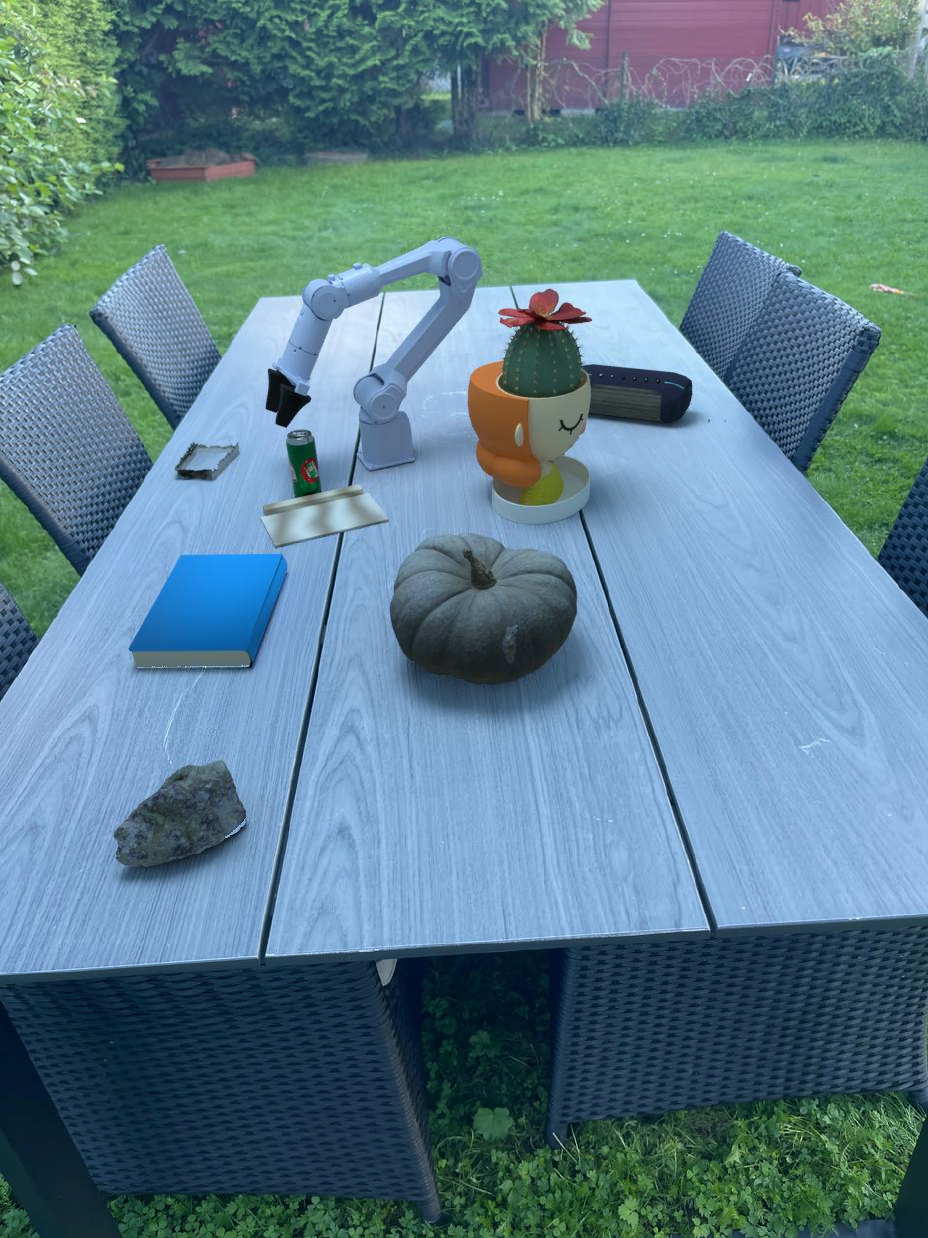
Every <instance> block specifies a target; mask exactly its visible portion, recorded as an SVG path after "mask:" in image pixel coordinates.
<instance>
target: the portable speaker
mask: <svg viewBox="0 0 928 1238" xmlns="http://www.w3.org/2000/svg"><path fill="white" fill-rule="evenodd" d="M583 367H584V369H583ZM582 369H583V370H585V371H586V372H587V373H588V375H589V379H590V385H591V400H590V405H591V407H590V412H589V414H593V415H594V414H595V415H602V416H611V417H619V418H626V417H629V418H628V419H634V418H638V419H637V420H643V419H647V420H646V421H651V420H655V421H654V422H660V421H662V423H673V422H677V421H680V420H682V418H683V417H684V415H685V414H686V412H687V410H688V409H689V408H690V405H691V402H692V399H693V380H692V379H690V377H687V376H686V375H683V374H680V373H677V372H675V371H674V372H673V371H665V370H656V369H644V368H634V367H625V366H617V365H616V366H615V365H608V364H607V365H605V364H595V363H592V364H586V365H584V364H582Z"/></svg>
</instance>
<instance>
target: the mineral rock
mask: <svg viewBox="0 0 928 1238" xmlns="http://www.w3.org/2000/svg"><path fill="white" fill-rule="evenodd" d="M244 807H245V806H244V804H243V802H242V800H241V799H240V797H239V795H238V792H237V787H236V785H235V782H234V779H233V776H232V773H231V772H230V770H229V768H228V766H227V763H225V762H224V760H222V759H221V760H215V761H212V762H210V763H207V764H204V765H194V764H187V765H185V766H182V767H180V768H178V769H176V770H175V771H174V772H173V773H172V774H171V775H170V776H168V777H166V778H165V780H164V781H163V783H162V785H161V786H160V787H159V788H158V790H157V791H155V792H154V793H153V794H151V795H150V796H148V797H147V798H146V799H144V800H143V801H141V802H140V803H139V804H138V806H137V807H136V808H135V809H133V810H132V812H130V814H129V816H128V817H127V818H126V819H124V820H123V822H122V823H120V824H119V826H117V828H116V829H114V831H113V835H112V837H113V838H114V840H116V841H117V847H116V848H117V850H116V851H115V859H116V861H118V863H120V864H121V865H123V866H125V867H126V866H127V867H133V868H137V867H140V866H142V867H144V868H149V867H152V866H157V865H162V864H164V862H165V863H171V862H173V861H176V860H180V859H183V858H185V857H187V856H192V855H199V854H201V853H202V852H203V851H204V850H206V849H208V848H211V847H212V848H213V847H214V846H215V847H216V846H218V845H219V844H221V843H222V842H223V841H225V840H224V838H225V836H227V835H229V834H230V833H231V832H233V830H235V829H236V828H237V827H238V826H239V825H241V823H242V822H243V821H244V819H245V818H246V819H247V811H246V809H245V808H244ZM172 860H173V861H172ZM170 861H171V862H170ZM161 863H162V864H161Z"/></svg>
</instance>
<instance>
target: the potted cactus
mask: <svg viewBox="0 0 928 1238" xmlns="http://www.w3.org/2000/svg"><path fill="white" fill-rule="evenodd" d="M559 300H560V296H559V293H558V292H557V290H554V289H552V288H546V289H545V290H544V291H537V292H535V293H533V295H531V296H530V299H529V302H528V303H529V304H528V308H520V307H518V308H517V309H516V308H511V307H505V308H500V309H499V310H498V312H497V314H498V315H500V317H499V319H500V320H499V321H498V322H499V324H502V325H504V326H505V327H507V328H509V329H512V330H513V332H514V333H515V334H513V332H510V333H509V335H507V336H508V339H509V340H510V342H509V340H506V341H504V344H505V345H506V346H508V347H507V348H506V347H505V346H504V345H503V346H504V348H503V354H505V355H504V357H503V356H502V355H501V354H500V356H499V357H500V360H499V361H495V362H490V363H487V364H484V365H482V366H479V367H478V368H476V369H474V370H473V371H472V372H471V374H470V377H469V381H468V382H469V383H468V388H467V409H468V417H469V420H470V421H469V422H470V424H471V427H472V429H473V431H474V432H475V435H476V436H477V438H478V440H477V442H476V447H475V456H476V461H477V463H478V465H479V466H480V468H481V470H482V471H483V472H484V473H485V474H486V475H488V476H490V477H492V480H491V504H492V508H493V510H494V512H495V513H497V514H498V515H499V516H500V517H502V518H503V519H505V520H508V521H510V522H513V523H516V524H517V523H518V524H523V525H544V524H551V523H554V522H558V521H562V520H565V519H567V518H570V517H571V516H573V515H575V514H577V513H578V512H579V511H580V510H582V509H583V508H584V507H585V506H586V505H587V503H588V501H589V500H590V496H591V480H592V479H591V477H592V474H591V471H590V468H589V467H588V465H587V464H585V462H584V461H582V460H580V459H579V458H575V457H573V456H570V455H568V454H567V455H566V452H568V451H569V450H570V449H571V448H572V447H573V446H574V445H575V443H576V442H577V441H578V440H579V438H580V436H581V435H583V434H584V433H585V431H586V427H587V421H588V418H589V414H590V413H589V412H590V407H591V405H590V400H591V385H590V379H589V375H588V373H587V372H586V371H585V370H583V369H584V367H583V369H582V366H583V365H587V363H586V361H582V358H583V357H584V358H585V353H584V352H583V353H582V354H581V351H580V349H581V348H584V345H582V344H580V345H579V343H578V341H579V340H580V339H582V338H579V337H580V335H578V336H577V337H575V334H576V333H575V331H574V330H572V331H571V332H570V329H571V326H572V325H576V324H584V323H591V322H593V319H592V317H589V316H585V315H587V312H586V311H583V310H582V309H581V308H579V307H575V306H574V305H573V304H572V303H570V302H567V301H566V302H563V303H562V304H561V305H560V306H559V307H558V309H557V310H556V308H557V306H558V305H559ZM555 310H556V311H555ZM554 311H555V312H554ZM501 316H503V317H504V316H505V317H507V318H503V317H501ZM565 324H567V325H566V326H565ZM513 328H514V329H513ZM578 345H579V346H578Z"/></svg>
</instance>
